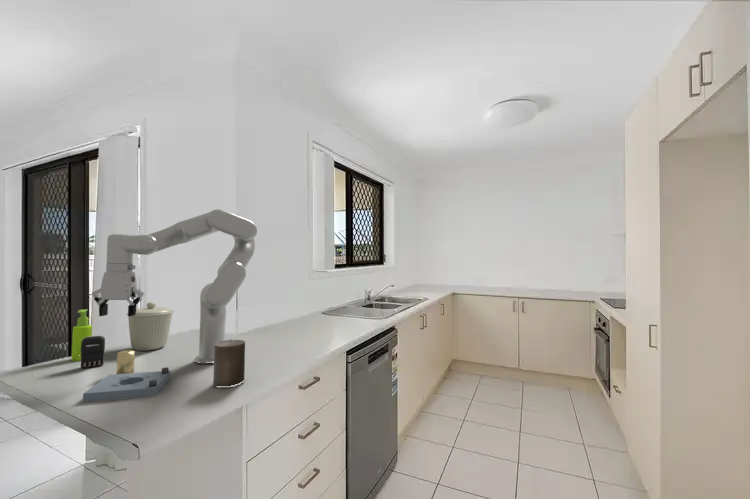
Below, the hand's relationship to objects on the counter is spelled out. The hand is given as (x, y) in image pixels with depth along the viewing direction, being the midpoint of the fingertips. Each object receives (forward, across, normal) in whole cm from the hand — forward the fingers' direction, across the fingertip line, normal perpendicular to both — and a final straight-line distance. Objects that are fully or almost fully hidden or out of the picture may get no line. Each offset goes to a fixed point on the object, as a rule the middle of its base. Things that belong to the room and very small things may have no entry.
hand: (117, 315), depth 120 cm
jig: (+21, -14, +15) cm, 29 cm away
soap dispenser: (+21, +24, -17) cm, 36 cm away
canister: (+21, +8, -34) cm, 40 cm away
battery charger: (+21, +13, -7) cm, 25 cm away
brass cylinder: (+21, -4, +2) cm, 21 cm away
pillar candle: (+21, -43, +10) cm, 49 cm away
